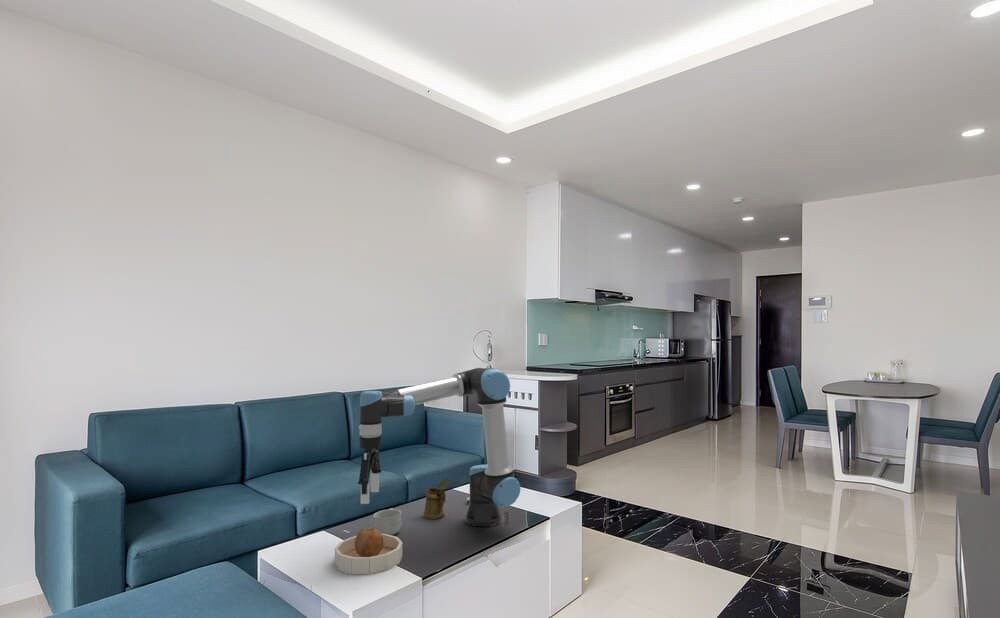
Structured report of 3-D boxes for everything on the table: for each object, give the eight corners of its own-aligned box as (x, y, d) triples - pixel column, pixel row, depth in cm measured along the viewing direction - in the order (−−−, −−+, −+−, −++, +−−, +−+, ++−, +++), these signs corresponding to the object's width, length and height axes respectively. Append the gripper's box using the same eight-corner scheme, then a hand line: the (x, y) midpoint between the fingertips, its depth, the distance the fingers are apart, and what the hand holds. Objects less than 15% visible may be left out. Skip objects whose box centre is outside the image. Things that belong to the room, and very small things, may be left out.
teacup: (394, 539, 202) (395, 518, 203) (368, 537, 204) (368, 516, 205) (408, 527, 216) (408, 507, 216) (383, 525, 218) (383, 505, 218)
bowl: (406, 547, 194) (406, 533, 194) (394, 574, 172) (394, 558, 172) (346, 547, 194) (346, 533, 194) (326, 574, 172) (326, 558, 172)
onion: (385, 551, 188) (385, 522, 189) (380, 562, 178) (381, 532, 179) (358, 551, 188) (358, 523, 188) (351, 563, 178) (352, 533, 179)
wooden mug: (440, 523, 220) (440, 479, 221) (419, 516, 229) (419, 474, 230) (455, 517, 227) (456, 475, 228) (434, 511, 236) (434, 470, 237)
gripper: (368, 429, 198) (368, 487, 197) (349, 442, 173) (348, 508, 172) (388, 429, 198) (388, 487, 197) (372, 442, 173) (371, 508, 172)
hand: (369, 497), depth 184 cm, fingers open, 13 cm apart
